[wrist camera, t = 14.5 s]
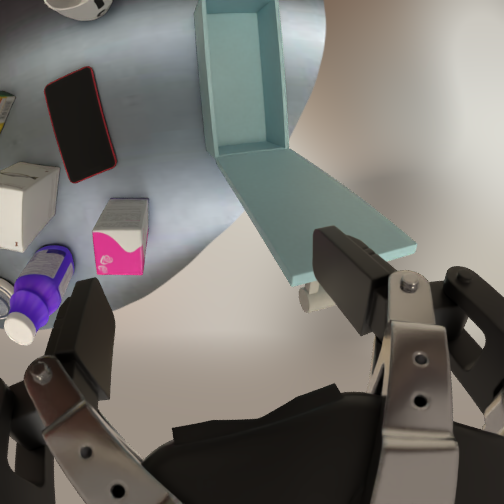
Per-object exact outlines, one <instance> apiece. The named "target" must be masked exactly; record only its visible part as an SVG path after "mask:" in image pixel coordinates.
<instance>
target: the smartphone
mask: <svg viewBox="0 0 504 504" xmlns="http://www.w3.org/2000/svg"><path fill="white" fill-rule="evenodd" d="M44 94H45V98H46V103H47V107H48V111H49V115H50V119H51V123H52V126H53V130H54V133H55V137H56V140H57V144H58V147H59V150H60V154H61V157H62V160H63V163H64V166H65V169H66V172H67V175H68V178H69V180H70V182H72V183H78V182H80V181H82V180H85V179H87V178H90V177H92V176H94V175H97V174H99V173H102V172H104V171H107V170H110V169H112V168H114V167H115V166H116V164H117V160H116V156H115V153H114V150H113V147H112V143H111V140H110V136H109V133H108V129H107V126H106V122H105V119H104V115H103V111H102V107H101V103H100V99H99V95H98V91H97V87H96V83H95V78H94V74H93V70H92V68H91V67H89V66H86V67H83V68H81V69H79V70H77V71H74V72H72V73H70V74H68V75H66V76H64V77H61V78H59V79H57V80H55V81H53V82H51V83H49V84H48V85H47V86H46V87H45V89H44Z"/></svg>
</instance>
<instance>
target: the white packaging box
mask: <svg viewBox="0 0 504 504" xmlns="http://www.w3.org/2000/svg"><path fill="white" fill-rule="evenodd" d="M59 171H60V168H59V167H50V166H42V165H35V164H29V163H23V162H19V163H16V164H14V165H12V166H10V167H8V168H6V169H4V170H2V171H0V248H4V249H8V250H13V251H18V252H22V253H23V252H24V251H25V250H26V248H27V247H28V246H29V245H30V243H31V242H32V241H33V240H34V238H35V237H36V236H37V235H38V234H39V232H40V231H41V230H42V229H43V228H44V226H45V225H46V224H47V223H48V222H49V221H50V220H51V218H52V217H53V216H54V215H55V208H56V198H57V188H58V179H59Z"/></svg>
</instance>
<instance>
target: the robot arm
mask: <svg viewBox="0 0 504 504" xmlns="http://www.w3.org/2000/svg"><path fill="white" fill-rule="evenodd" d="M312 267H313V272H314V275H315V278H316V280H317V281H318V282H319V284H320V285H321V286H322V287H323V289H324V290H325V291H326V292H327V294H328V295H329V296H330V297H331V299H332V300H333V301H334V302H335V304H336V305H337V306H338V308H339V309H340V310H341V311H342V312H343V314H344V315H345V316H346V318H347V319H348V320H349V321H350V323H351V324H352V325H353V327H354V328H355V329H356V331H357V332H358V333H359V334H360V336H363V335H365V334H368V333H370V332H373V333H374V334H375V339H374V345H373V353H372V361H371V369H370V376H369V382H368V387H367V391H366V393H364V392H344V393H340V391H339V390H338V388H337V386H336V384H331V385H329V386H326V387H323V388H320V389H318V390H315V391H312V392H309V393H307V394H304V395H301V396H298V397H296V398H294V399H293V400H291V401H289V402H288V403H286V404H284V405H283V406H281V407H279V408H277V409H276V410H274V411H272V412H270V413H269V414H267V415H265V416H263V417H261V418H258V419H245V420H211V421H206V422H202V423H197V424H191V425H186V426H181V427H175V428H172V431H173V438H174V439H173V440H171V441H169V442H167V443H165V444H163V445H161V446H160V447H158V448H157V449H156V450H154V451H153V452H152V453H151V454H149V455H148V456H147V457H146V458H145V459H144V458H142V457H141V456H140V455H139V454H138V453H137V452H136V451H135V450H134V449H133V448H132V447H131V446H130V445H129V444H128V443H127V442H126V441H125V439H124V438H123V437H122V436H121V435H120V434H119V433H118V432H117V431H116V430H115V428H114V427H113V426H112V425H111V424H110V423H109V421H108V420H107V419H106V418H105V417H104V416H103V414H102V413H101V412H100V411H99V410H98V401H100V400H109V399H110V385H111V367H112V356H113V345H114V335H115V319H114V315H113V312H112V309H111V307H110V305H109V303H108V301H107V298H106V296H105V294H104V292H103V289H102V287H101V285H100V282H99V280H98V279H97V278H96V277H94V278H90V279H86V280H81V281H77V282H76V284H75V287H74V290H73V292H72V295H71V297H68V298H67V299H66V300H65V302H64V303H63V304H62V305H61V307H60V308H59V311H58V314H57V317H56V319H57V320H55V323H54V326H53V327H54V328H53V329H52V332H51V335H50V338H49V341H48V344H47V348H46V351H45V355H44V356H42V357H39V358H37V359H36V360H34V361H33V362H32V363H31V364H30V365H29V366H28V368H27V370H26V372H25V375H24V380H23V381H21V382H19V383H16V384H14V385H12V386H10V387H8V386H7V385H6V384H5V382H4V381H3V380H2V379H1V378H0V504H55V489H54V457H55V459H56V461H57V462H58V464H59V466H60V467H61V469H62V471H63V472H64V474H65V475H66V477H67V478H68V480H69V481H70V483H71V484H72V485H73V487H74V488H75V490H76V491H77V493H78V494H79V495H80V497H81V498H82V499H83V501H84V502H85V503H86V504H504V297H503V296H502V295H501V294H499V293H498V292H497V291H496V290H495V289H494V288H493V287H491V286H490V285H489V284H488V283H487V282H486V281H484V280H483V279H482V278H481V277H480V276H479V275H478V274H476V273H475V272H474V271H472V270H470V269H468V268H465V267H460V266H454V267H451V268H449V269H448V270H447V273H446V276H445V280H444V281H435V282H428V280H427V279H426V278H425V277H424V276H422V275H421V274H419V273H416V272H413V271H409V270H400V271H397V270H396V269H394V268H393V267H392V266H391V265H390V264H388V263H387V262H386V261H385V260H384V259H383V258H381V257H380V256H379V255H378V254H375V252H374V251H373V250H372V249H371V248H369V247H368V246H367V245H366V244H365V243H363V242H362V241H361V240H359V239H357V238H354V237H352V236H350V235H346V234H344V233H343V232H342V231H341V230H339V229H338V228H337V227H336V226H334V225H332V226H327V227H323V228H318V229H315V230H314V232H313V259H312ZM468 317H469V318H470V319H471V320H472V321H473V322H474V323H475V324H476V325H477V326H478V327H479V328H480V329H481V330H482V331H483V333H484V334H485V339H486V343H485V346H484V348H483V349H482V348H481V347H480V346H479V345H478V344H477V343H476V342H475V340H474V339H473V338H472V337H471V336H470V335H469V334H468V333H467V331H465V329H464V326H465V324H466V322H467V319H468ZM451 371H452V372H453V374H454V375H455V376H456V378H457V379H458V380H459V382H460V383H461V384H462V386H463V387H464V388H465V390H466V391H467V392H468V394H469V395H470V396H471V397H472V399H473V400H474V402H475V403H476V405H477V406H478V407H479V409H480V410H481V412H482V413H483V415H484V420H485V424H484V426H483V427H482V430H481V429H477V428H474V427H470V426H467V425H464V424H460V423H457V422H454V421H453V403H452V383H451ZM9 436H10V437H11V438H12V439H13V440H15V441H16V442H17V446H16V458H15V472H13V471H12V469H11V468H10V466H9V464H8V459H7V453H8V443H9Z"/></svg>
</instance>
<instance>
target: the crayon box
mask: <svg viewBox="0 0 504 504" xmlns="http://www.w3.org/2000/svg"><path fill="white" fill-rule="evenodd" d="M15 98H16V97H15V96H13V95H11V94H9V93H7V92H5V91H0V132H1V130H2V127H3V125H4V122H5V120H6V118H7V115H8V113H9V110H10V108H11V106H12V103H13V101H14V100H15Z"/></svg>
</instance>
